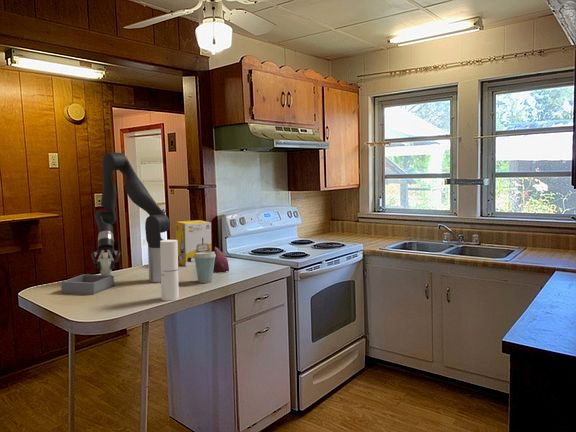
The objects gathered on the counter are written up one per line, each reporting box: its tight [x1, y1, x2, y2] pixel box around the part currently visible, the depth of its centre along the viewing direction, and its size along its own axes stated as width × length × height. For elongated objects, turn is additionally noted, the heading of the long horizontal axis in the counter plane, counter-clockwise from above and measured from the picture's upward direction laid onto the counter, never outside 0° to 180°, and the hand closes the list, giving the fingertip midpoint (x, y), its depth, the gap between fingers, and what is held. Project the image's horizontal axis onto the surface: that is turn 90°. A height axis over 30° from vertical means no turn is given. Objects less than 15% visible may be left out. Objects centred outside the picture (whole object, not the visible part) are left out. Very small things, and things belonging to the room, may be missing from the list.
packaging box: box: [174, 219, 213, 268], centre depth 271 cm, size 16×16×25 cm
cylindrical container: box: [160, 239, 180, 302], centre depth 192 cm, size 7×7×25 cm
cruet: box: [100, 252, 113, 276], centre depth 224 cm, size 5×5×14 cm
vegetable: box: [213, 246, 230, 274], centre depth 249 cm, size 10×10×15 cm
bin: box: [60, 273, 115, 295], centre depth 208 cm, size 16×16×5 cm
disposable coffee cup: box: [194, 251, 216, 284], centre depth 223 cm, size 11×11×15 cm
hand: (105, 268), depth 222 cm, fingers closed on cruet, 5 cm apart
